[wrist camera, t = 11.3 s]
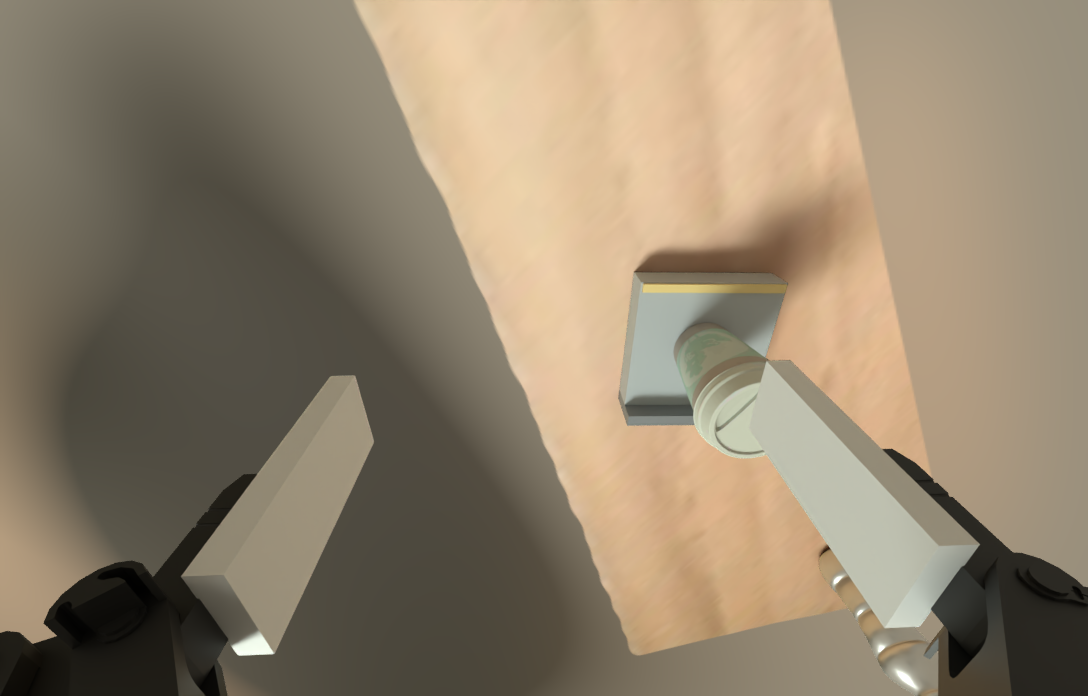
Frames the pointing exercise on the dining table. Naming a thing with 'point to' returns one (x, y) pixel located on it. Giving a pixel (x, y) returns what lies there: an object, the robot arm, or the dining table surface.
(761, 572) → the dining table surface
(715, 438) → the coffee cup
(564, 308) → the dining table surface
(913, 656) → the plastic bottle
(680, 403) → the plate
